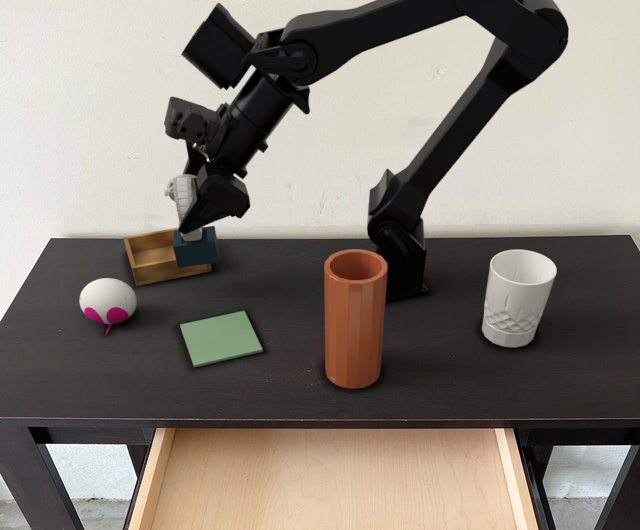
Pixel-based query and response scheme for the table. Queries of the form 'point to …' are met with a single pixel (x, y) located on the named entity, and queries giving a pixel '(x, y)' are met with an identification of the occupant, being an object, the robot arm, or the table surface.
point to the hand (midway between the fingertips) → (178, 216)
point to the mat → (220, 338)
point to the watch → (197, 243)
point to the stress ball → (108, 301)
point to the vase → (354, 317)
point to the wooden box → (157, 258)
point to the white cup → (516, 296)
